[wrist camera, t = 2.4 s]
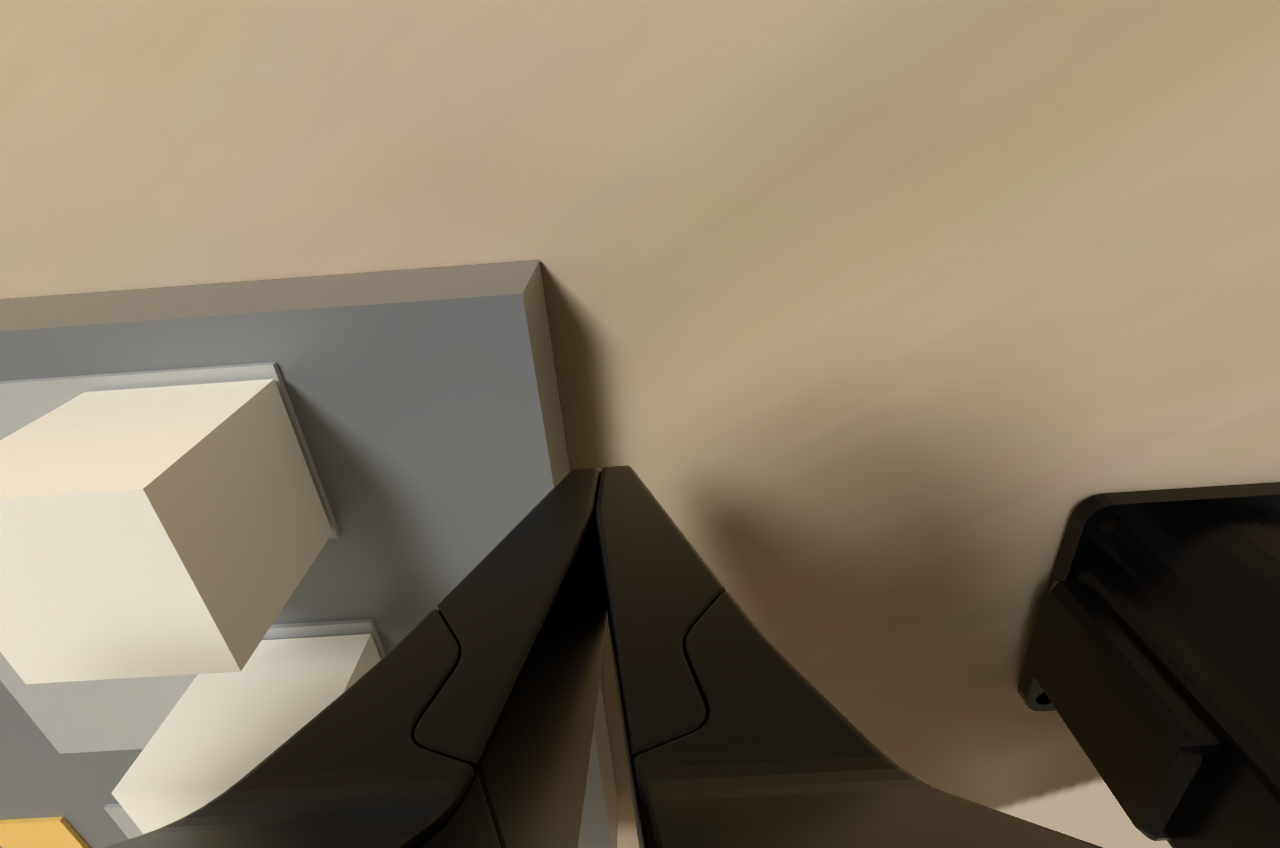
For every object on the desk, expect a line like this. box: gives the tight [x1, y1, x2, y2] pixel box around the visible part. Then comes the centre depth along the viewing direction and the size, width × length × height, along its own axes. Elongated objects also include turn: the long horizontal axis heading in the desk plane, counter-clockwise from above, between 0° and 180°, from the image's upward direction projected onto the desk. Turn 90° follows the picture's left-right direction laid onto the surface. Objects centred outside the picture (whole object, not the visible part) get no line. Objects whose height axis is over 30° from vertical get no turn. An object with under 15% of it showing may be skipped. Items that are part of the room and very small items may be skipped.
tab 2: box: [111, 634, 381, 834], centre depth 12 cm, size 3×3×3 cm
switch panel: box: [0, 260, 618, 848], centre depth 14 cm, size 16×16×2 cm
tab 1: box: [0, 379, 332, 684], centre depth 9 cm, size 3×3×3 cm
